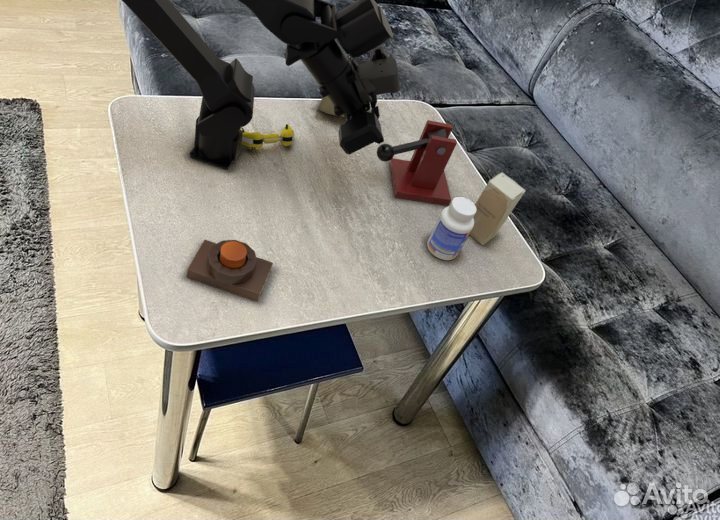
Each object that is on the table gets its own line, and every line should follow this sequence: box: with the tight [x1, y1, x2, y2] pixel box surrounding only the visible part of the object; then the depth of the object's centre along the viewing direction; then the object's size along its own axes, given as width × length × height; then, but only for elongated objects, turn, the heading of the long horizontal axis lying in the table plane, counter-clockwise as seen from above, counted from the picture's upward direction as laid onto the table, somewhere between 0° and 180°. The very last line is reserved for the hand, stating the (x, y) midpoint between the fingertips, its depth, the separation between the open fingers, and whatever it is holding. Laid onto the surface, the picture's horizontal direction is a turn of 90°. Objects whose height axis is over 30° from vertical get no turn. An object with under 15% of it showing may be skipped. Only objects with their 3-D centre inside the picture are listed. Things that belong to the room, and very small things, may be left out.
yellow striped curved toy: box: [240, 124, 295, 151], centre depth 100 cm, size 10×6×4 cm, turn 117°
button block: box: [186, 239, 274, 302], centre depth 80 cm, size 10×6×4 cm, turn 78°
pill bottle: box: [426, 196, 476, 261], centre depth 92 cm, size 5×5×10 cm
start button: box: [220, 241, 247, 269], centre depth 78 cm, size 3×3×2 cm
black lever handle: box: [376, 129, 447, 163], centre depth 98 cm, size 12×3×3 cm, turn 94°
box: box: [469, 171, 526, 246], centre depth 97 cm, size 5×4×11 cm
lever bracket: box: [388, 119, 458, 206], centre depth 101 cm, size 10×9×12 cm
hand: (381, 141), depth 97 cm, fingers closed
